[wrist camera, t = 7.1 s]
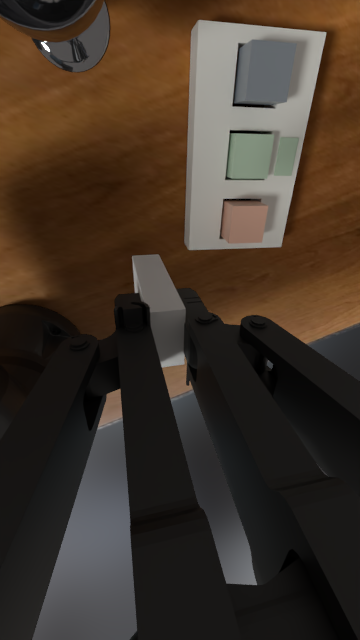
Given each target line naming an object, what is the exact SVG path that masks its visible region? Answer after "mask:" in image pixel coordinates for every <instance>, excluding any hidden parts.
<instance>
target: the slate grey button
mask: <svg viewBox="0 0 360 640" xmlns="http://www.w3.org/2000/svg"><path fill="white" fill-rule="evenodd" d="M296 46H297V43H288V42H276V41H265V40H254V39H252V40H251V41H249V42H248V43H246V44H245V45H244V46H242V47H241V48H240V49H239V52H238V62H237V73H236V83H235V93H234V103H235V104H255V105H275V104H280V103H285V102H287V97H288V92H289V86H290V80H291V74H292V69H293V63H294V57H295V52H296Z"/></svg>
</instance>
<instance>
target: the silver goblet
mask: <svg viewBox="0 0 360 640" xmlns="http://www.w3.org/2000/svg"><path fill="white" fill-rule="evenodd" d="M0 18H1V19H2V20H3V21H5V22H6V23H7V24H9V25H10V26H12V27H13V28H14V29H16V30H17V31H19V32H21V33H23V34H25V35H27V36H29V37H31V38H32V40H33V42H34V43H35V45H36V46H37V48H38V49H39V51H40V52H41V53H42V54H43V56H44V57H45V58H47V59H48V60H49V61H50V62H51V63H52V64H54V65H55V66H57V67H59V68H61V69H63V70H65V71H69V72H84V71H87V70H89V69H91V68H93V67H94V66H95V65H97V64H98V62H99V61H100V60H101V59H102V57H103V55H104V54H105V51H106V49H107V46H108V41H109V34H110V23H109V15H108V10H107V6H106V4H105V1H104V0H0Z"/></svg>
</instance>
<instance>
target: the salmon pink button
mask: <svg viewBox="0 0 360 640" xmlns="http://www.w3.org/2000/svg"><path fill="white" fill-rule="evenodd" d="M267 211H268V205H265V204H263V203H261V202H259V201H257V200H248V201H224V205H223V215H222V225H221V236H222V237H223V238H224V239H225V240H226V241H227V242H228V243H229V244H230V243H262V240H263V234H264V228H265V223H266V217H267Z"/></svg>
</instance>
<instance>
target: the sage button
mask: <svg viewBox="0 0 360 640" xmlns="http://www.w3.org/2000/svg"><path fill="white" fill-rule="evenodd" d="M273 141H274V135H271V134H241V133H231V134H229V145H228V155H227V165H226V177H229V178H232V179H267V177H268V171H269V165H270V159H271V153H272V147H273Z"/></svg>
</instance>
